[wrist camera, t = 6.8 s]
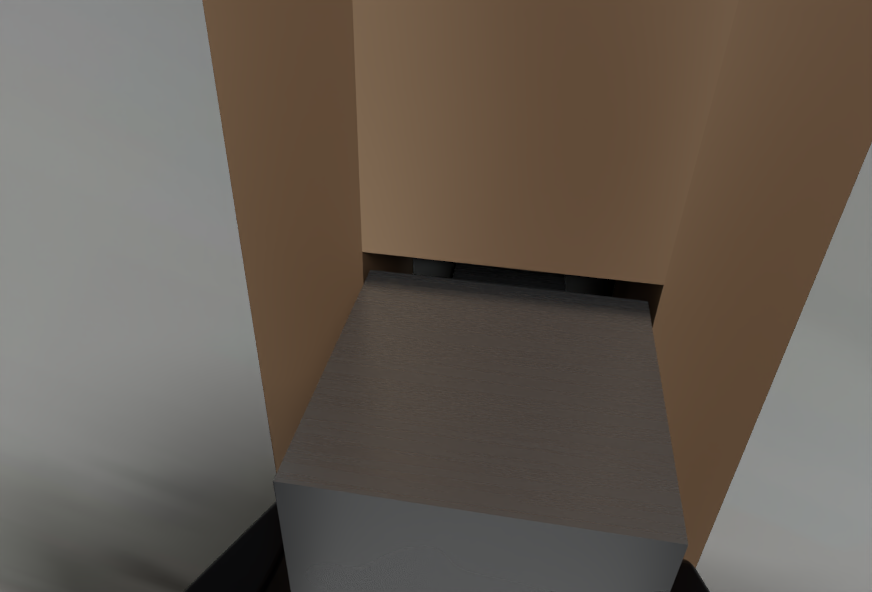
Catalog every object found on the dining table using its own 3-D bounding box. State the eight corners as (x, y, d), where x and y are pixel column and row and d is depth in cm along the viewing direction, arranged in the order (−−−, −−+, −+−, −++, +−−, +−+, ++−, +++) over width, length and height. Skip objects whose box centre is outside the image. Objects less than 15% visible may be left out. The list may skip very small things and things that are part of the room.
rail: (358, 665, 19) (325, 791, 16) (267, -595, 6) (64, -885, 4) (579, 706, 18) (581, 844, 15) (992, -626, 5) (1349, -1013, 3)
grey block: (413, 524, 15) (335, 868, 10) (419, 162, 10) (273, 481, 5) (552, 545, 14) (544, 914, 9) (627, 182, 10) (688, 544, 5)
